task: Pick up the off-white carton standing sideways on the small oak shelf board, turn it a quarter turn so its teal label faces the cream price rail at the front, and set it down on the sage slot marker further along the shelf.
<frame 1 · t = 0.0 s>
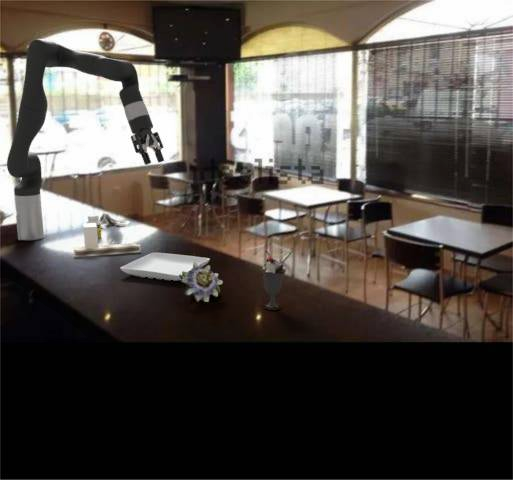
hand: (154, 162, 195), 31 cm above the bar counter, tool tilted 20°, fingers open, 8 cm apart
supplement bottle: (94, 241, 219), on the bar counter
carton: (91, 250, 200), point 1 cm above the bar counter, touching shelf board
shelf board: (106, 252, 201), on the bar counter
passion flower: (200, 299, 154), on the bar counter
salad plate: (167, 273, 179), on the bar counter
cloth: (106, 225, 249), on the bar counter
sundae: (272, 308, 147), on the bar counter
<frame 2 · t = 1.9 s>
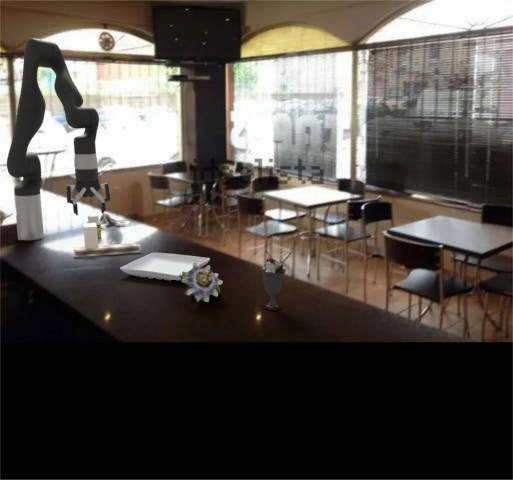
hand: (89, 214, 197), 14 cm above the bar counter, tool pointing down, fingers open, 8 cm apart
nothing on the bar counter moved.
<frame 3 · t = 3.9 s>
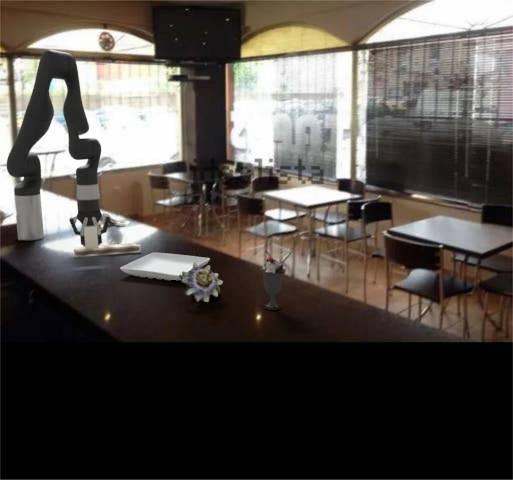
hand: (91, 245, 200), 3 cm above the bar counter, tool pointing down, fingers closed on carton, 4 cm apart
carton: (91, 250, 200), point 1 cm above the bar counter, touching gripper, shelf board
everything else where it was.
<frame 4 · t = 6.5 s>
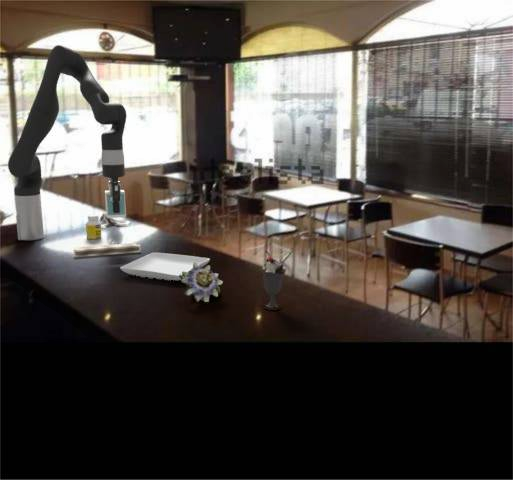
hand: (115, 211, 200), 14 cm above the bar counter, tool pointing down, fingers closed on carton, 4 cm apart
carton: (116, 216, 200), point 13 cm above the bar counter, touching gripper
everything else where it was.
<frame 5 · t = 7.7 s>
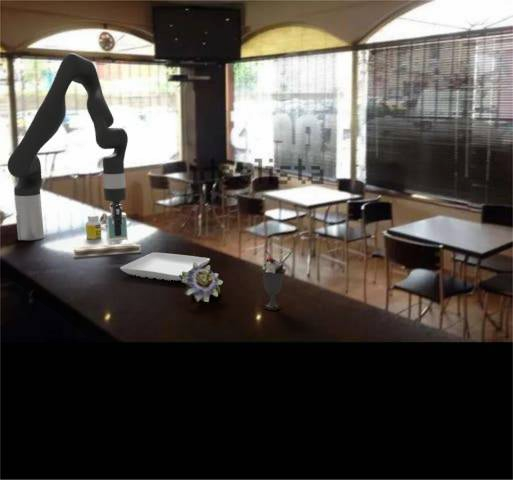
hand: (117, 234, 202), 6 cm above the bar counter, tool pointing down, fingers closed on carton, 4 cm apart
carton: (117, 238, 202), point 4 cm above the bar counter, touching gripper
everything else where it was.
when the fingers open (4 cm above the bar counter, at t = 9.0 s): carton drops 1 cm, resting on shelf board.
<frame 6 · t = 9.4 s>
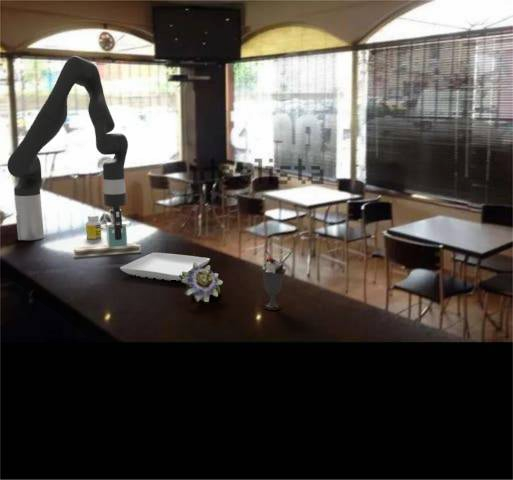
hand: (117, 237, 202), 5 cm above the bar counter, tool pointing down, fingers open, 8 cm apart
carton: (117, 247, 203), point 1 cm above the bar counter, touching shelf board
everything else where it was.
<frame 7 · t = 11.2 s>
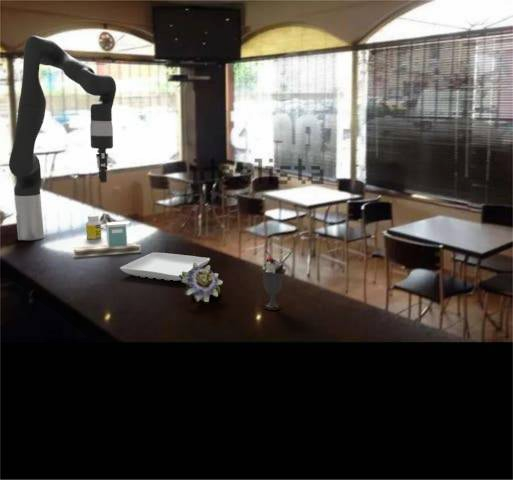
hand: (102, 180, 201), 25 cm above the bar counter, tool pointing down, fingers open, 8 cm apart
nothing on the bar counter moved.
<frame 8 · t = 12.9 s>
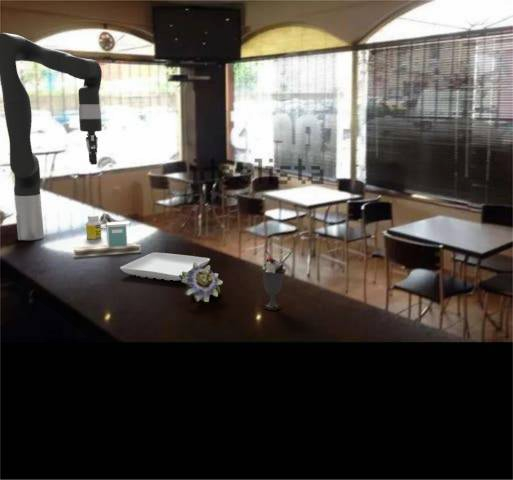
hand: (93, 163, 206), 30 cm above the bar counter, tool pointing down, fingers open, 8 cm apart
nothing on the bar counter moved.
at the end: carton inside the target area (0.1 cm from its centre), point 1.1 cm above the bar counter; carton tilted 0°; the gripper is holding nothing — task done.
